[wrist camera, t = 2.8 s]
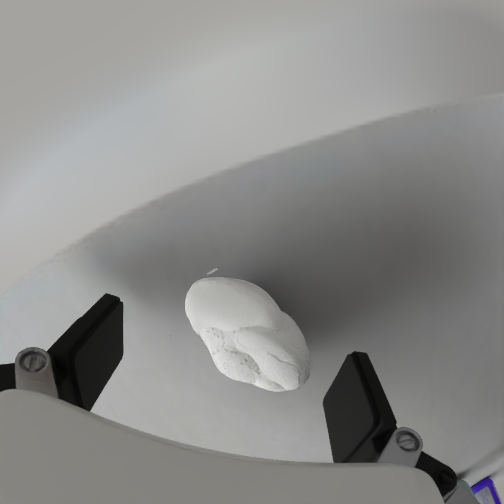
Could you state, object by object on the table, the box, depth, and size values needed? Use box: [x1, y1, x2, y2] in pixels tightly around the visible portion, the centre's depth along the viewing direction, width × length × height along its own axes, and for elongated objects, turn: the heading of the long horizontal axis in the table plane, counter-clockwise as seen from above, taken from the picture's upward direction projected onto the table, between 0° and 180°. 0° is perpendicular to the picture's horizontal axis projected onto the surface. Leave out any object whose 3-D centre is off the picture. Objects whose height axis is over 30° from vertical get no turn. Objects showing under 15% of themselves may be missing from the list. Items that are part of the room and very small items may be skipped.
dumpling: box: [170, 267, 310, 392], centre depth 13 cm, size 7×5×4 cm
